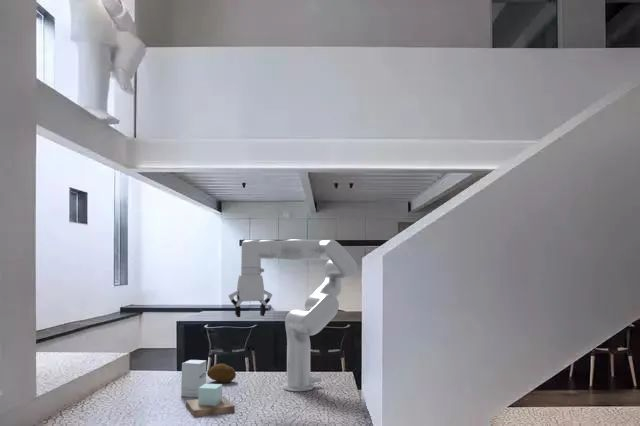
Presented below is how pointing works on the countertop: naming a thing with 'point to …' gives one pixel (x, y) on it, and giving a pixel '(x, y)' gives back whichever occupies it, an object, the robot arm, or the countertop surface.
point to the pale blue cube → (210, 394)
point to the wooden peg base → (209, 407)
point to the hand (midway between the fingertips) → (250, 316)
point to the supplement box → (193, 377)
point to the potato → (221, 373)
